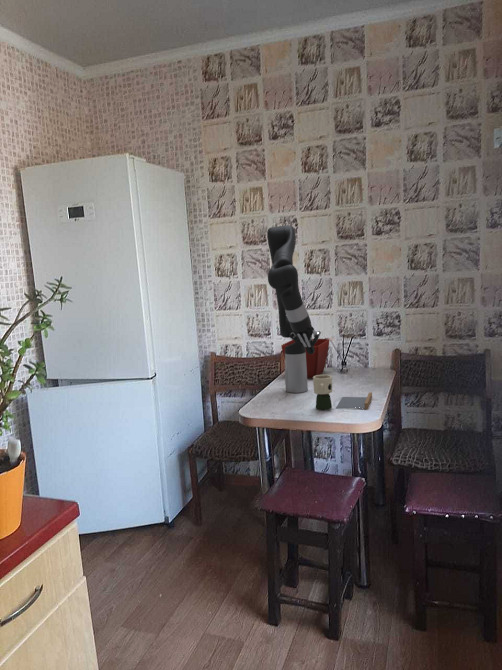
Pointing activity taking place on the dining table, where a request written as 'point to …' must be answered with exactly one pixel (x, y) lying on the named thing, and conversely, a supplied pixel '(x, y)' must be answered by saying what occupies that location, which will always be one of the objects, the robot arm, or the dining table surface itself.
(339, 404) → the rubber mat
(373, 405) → the dining table surface
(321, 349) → the plant pot
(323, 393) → the character mug
